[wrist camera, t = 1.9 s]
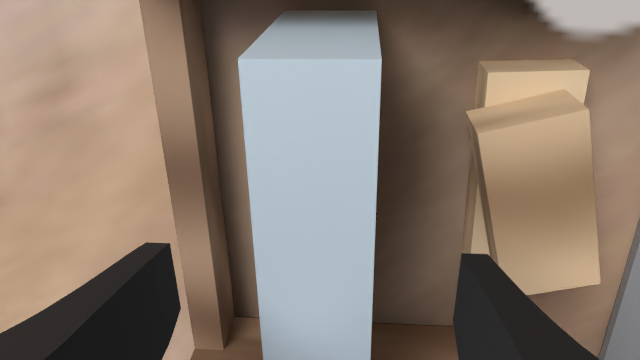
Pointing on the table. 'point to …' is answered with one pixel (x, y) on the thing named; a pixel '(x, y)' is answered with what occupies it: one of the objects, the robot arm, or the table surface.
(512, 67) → the offcut lower
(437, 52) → the table surface
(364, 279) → the pale blue block
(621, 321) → the grey block
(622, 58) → the table surface
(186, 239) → the rack
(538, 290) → the offcut upper
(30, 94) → the table surface
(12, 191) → the table surface
